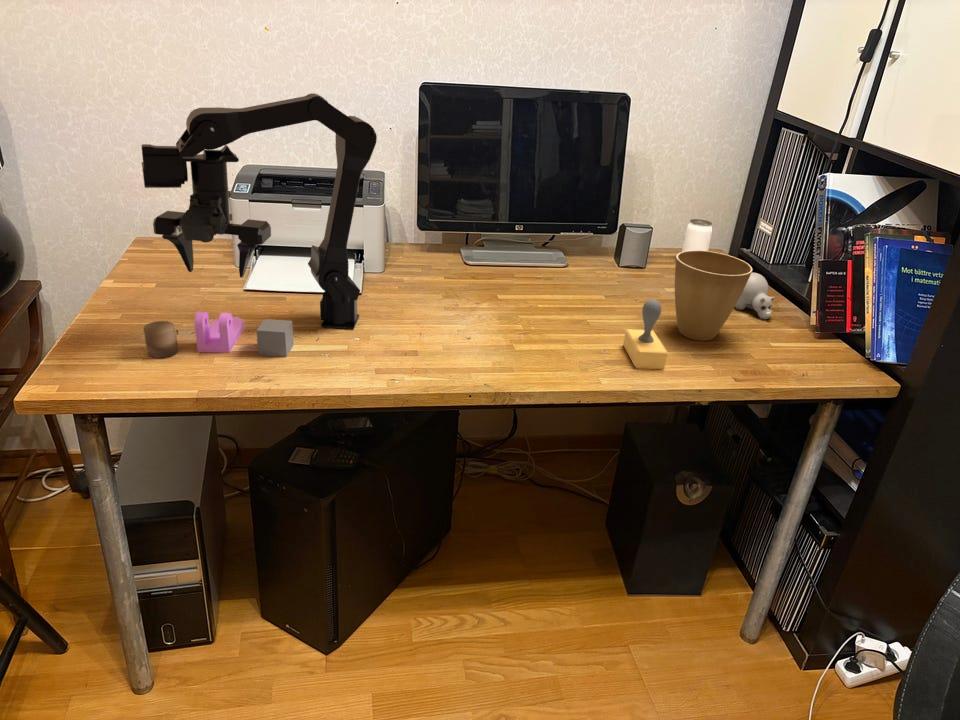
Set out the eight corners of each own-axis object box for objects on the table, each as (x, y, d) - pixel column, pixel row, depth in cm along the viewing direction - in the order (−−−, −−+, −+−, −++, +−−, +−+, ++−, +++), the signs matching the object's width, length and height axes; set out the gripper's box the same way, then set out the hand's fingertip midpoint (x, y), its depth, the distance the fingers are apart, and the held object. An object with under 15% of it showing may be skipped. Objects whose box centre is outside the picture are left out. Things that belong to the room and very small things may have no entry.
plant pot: (700, 354, 140) (718, 278, 132) (647, 325, 150) (660, 254, 143) (749, 341, 147) (768, 268, 140) (695, 314, 158) (710, 246, 151)
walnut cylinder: (182, 347, 127) (179, 322, 125) (171, 360, 123) (167, 334, 121) (155, 345, 127) (151, 320, 125) (142, 357, 123) (138, 332, 120)
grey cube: (293, 345, 131) (292, 320, 129) (286, 357, 127) (284, 332, 124) (266, 343, 131) (264, 319, 129) (258, 355, 127) (256, 330, 124)
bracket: (229, 353, 127) (226, 318, 124) (197, 352, 126) (193, 316, 123) (247, 323, 138) (244, 290, 135) (217, 322, 138) (214, 289, 135)
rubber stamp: (622, 345, 141) (632, 289, 136) (650, 346, 142) (661, 290, 136) (634, 368, 132) (645, 309, 127) (664, 369, 133) (677, 311, 127)
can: (706, 270, 186) (716, 226, 181) (682, 269, 186) (691, 224, 181) (700, 262, 192) (709, 219, 186) (676, 260, 192) (685, 217, 186)
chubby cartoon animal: (746, 330, 159) (764, 304, 152) (721, 293, 166) (737, 266, 160) (772, 328, 161) (791, 301, 155) (746, 291, 168) (763, 264, 162)
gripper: (132, 192, 113) (143, 283, 119) (249, 204, 113) (253, 295, 120) (163, 177, 123) (172, 263, 129) (270, 189, 123) (273, 273, 130)
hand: (216, 274), depth 127 cm, fingers open, 9 cm apart
